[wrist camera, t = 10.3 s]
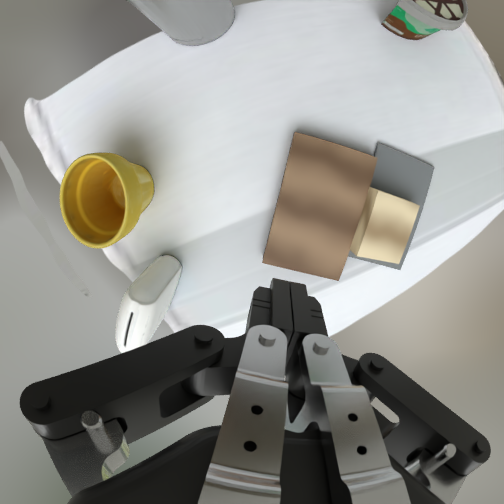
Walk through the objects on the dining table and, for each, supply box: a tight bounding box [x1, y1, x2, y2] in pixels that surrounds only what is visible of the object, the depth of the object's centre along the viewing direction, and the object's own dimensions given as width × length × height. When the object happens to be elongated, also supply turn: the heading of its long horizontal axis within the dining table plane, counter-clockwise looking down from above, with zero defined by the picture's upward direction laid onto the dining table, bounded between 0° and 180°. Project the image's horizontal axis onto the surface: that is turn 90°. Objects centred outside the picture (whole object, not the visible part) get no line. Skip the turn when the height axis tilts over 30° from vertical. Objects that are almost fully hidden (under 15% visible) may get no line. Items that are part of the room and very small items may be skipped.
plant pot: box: [60, 153, 154, 248], centre depth 29 cm, size 10×10×10 cm
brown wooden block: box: [262, 132, 378, 281], centre depth 31 cm, size 16×10×2 cm, turn 168°
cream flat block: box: [350, 187, 420, 264], centre depth 30 cm, size 8×7×2 cm
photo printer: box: [116, 255, 182, 353], centre depth 32 cm, size 10×4×12 cm, turn 155°
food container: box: [382, 0, 468, 40], centre depth 16 cm, size 12×6×10 cm, turn 136°
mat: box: [348, 143, 434, 270], centre depth 31 cm, size 15×9×1 cm, turn 168°
